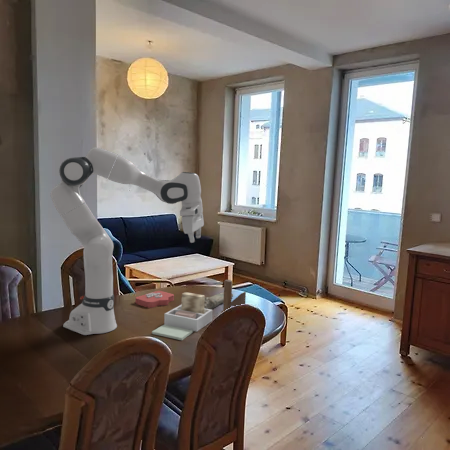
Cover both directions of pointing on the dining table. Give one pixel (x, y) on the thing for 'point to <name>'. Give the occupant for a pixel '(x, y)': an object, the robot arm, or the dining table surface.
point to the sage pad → (172, 332)
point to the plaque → (154, 299)
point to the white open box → (188, 319)
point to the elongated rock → (214, 301)
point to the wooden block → (228, 296)
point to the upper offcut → (186, 314)
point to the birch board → (193, 302)
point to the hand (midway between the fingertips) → (195, 240)
